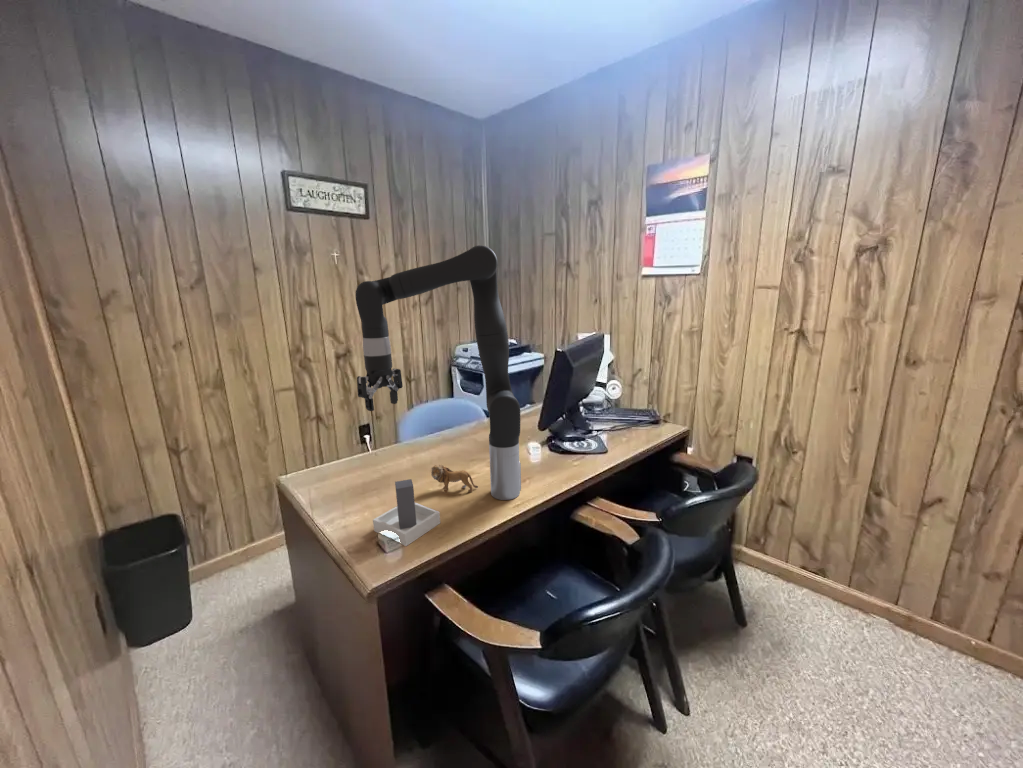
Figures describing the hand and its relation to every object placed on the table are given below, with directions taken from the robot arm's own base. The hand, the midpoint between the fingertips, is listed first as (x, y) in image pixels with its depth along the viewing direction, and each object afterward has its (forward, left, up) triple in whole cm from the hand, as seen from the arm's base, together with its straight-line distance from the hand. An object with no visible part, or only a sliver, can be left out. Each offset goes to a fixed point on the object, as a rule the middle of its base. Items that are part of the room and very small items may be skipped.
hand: (382, 406), depth 124 cm
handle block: (+8, +16, -29) cm, 34 cm away
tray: (+8, +16, -30) cm, 35 cm away
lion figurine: (-15, +13, -30) cm, 36 cm away
